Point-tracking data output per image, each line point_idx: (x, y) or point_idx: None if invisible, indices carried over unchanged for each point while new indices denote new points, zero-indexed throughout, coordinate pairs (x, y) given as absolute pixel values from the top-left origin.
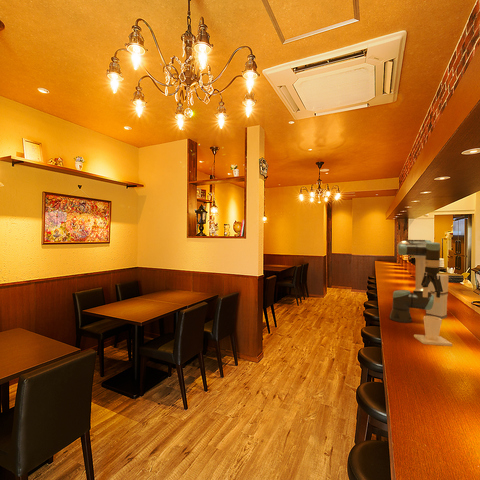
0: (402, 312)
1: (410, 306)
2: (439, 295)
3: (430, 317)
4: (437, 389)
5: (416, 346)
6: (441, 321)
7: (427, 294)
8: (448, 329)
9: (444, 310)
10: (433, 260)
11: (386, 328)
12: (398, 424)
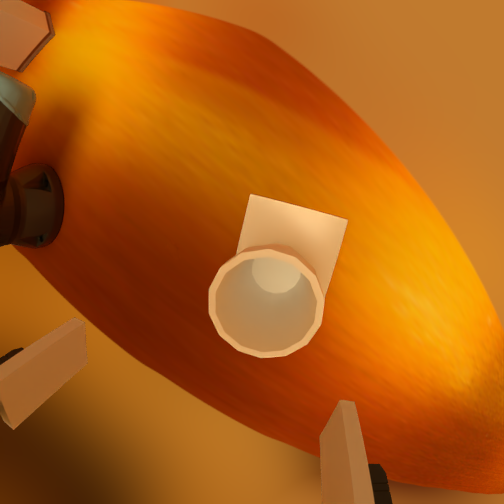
0: (26, 222)
1: (5, 187)
2: (385, 492)
3: (222, 283)
4: (490, 441)
5: (330, 376)
6: (315, 274)
7: (62, 341)
8: (139, 64)
9: (34, 15)
10: None
11: (134, 349)
12: (488, 489)
